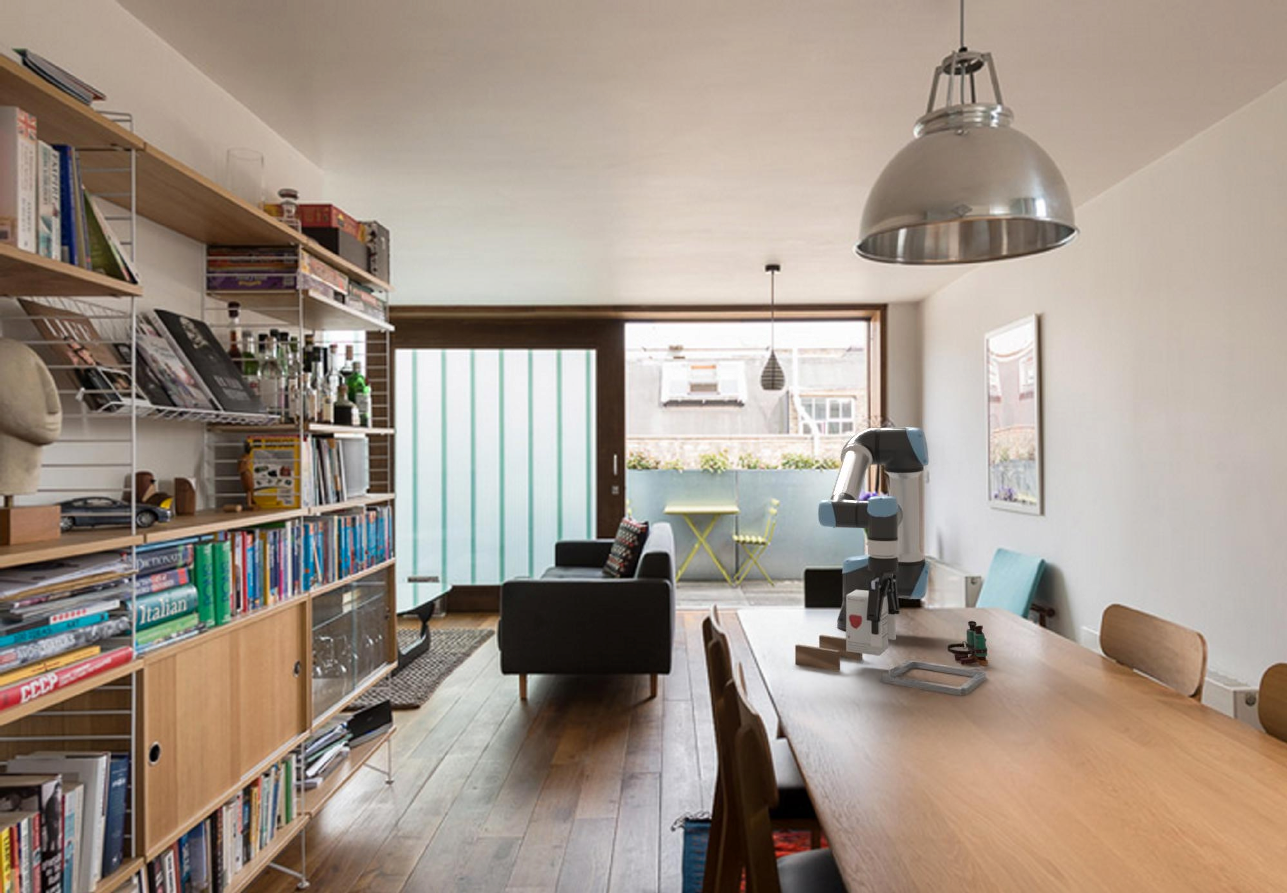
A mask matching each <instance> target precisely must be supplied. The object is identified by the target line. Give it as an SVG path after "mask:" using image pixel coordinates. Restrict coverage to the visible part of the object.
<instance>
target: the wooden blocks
mask: <svg viewBox="0 0 1287 893" xmlns="http://www.w3.org/2000/svg"><path fill="white" fill-rule="evenodd" d="M818 640H819V641H818V642H819V644H818V646H812V645H806V644H799V643H798V644H795V646H794V647H795V653H794V655H795V656H794V657H795V659H794V660H795V665H799V666H805V667H811V668H817V669H822V670H829V671H833V672H839V671H840V670H841V658H845V659H850V660H852V659H853V660H857V661H861V660H863V654H862V653H855V652H848V651H846V637H839V636H832V635H826V634H820V635H819V636H818Z"/></svg>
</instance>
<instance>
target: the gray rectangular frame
mask: <svg viewBox="0 0 1287 893" xmlns="http://www.w3.org/2000/svg"><path fill="white" fill-rule="evenodd" d="M913 668H914V669H922V670H928V671H934V672H938V673H939V672H940V673H947V674H952V675H957V676H958V675H959V676H966V677H971V678H970V679H968V680H966V681H965V683H963V684H962V685H960V686H953V685H947V684H941V683H935V682H930V681H923V680H919V679H918V680H917V679H911V678H906V677H899V676H900V675H902V674H903V673H905V672H907V671H909V670H910V669H913ZM986 680H987V672H986V671H985V670H979V669H973V668H972V669H971V668H966V667H959V666H953V665H945V664H940V663H934V662H928V661H921V660H914V659H911V660H905V661H903V662H902V663H900V664H898V665H896V666H895V667H893V668H891V669H889V670H887V671H886V672H884V673H882V674H881V681H882V683H883V684H884V683H885V684H891V685H894V686H902V687H906V686H907V687H908V688H913V689H917V690H924V691H931V692H936V693H943V694H946V695H947V694H949V695H952V694H953V695H954V696H958V695H960V696H959V697H961V696H963V695H965V696H967V695H969V693H971V692H972V691H973V690H974V689H976V688H977V687H979V685H981V684H982V683H984V682H985V681H986Z"/></svg>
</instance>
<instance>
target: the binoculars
mask: <svg viewBox="0 0 1287 893" xmlns="http://www.w3.org/2000/svg"><path fill="white" fill-rule="evenodd" d="M967 624H968V626H969V628H968V629H966V641H962V643H961V642H960V643H951V644H948V645H947V646H946V647H947V652H949V653H952V654H954V655H953V656H954V660H955V661H957V662H960V665H968V664H973V663H976V664H979V665H982V666H983V665H989V661H988V659H987V656H988V648H987V645H986V644H987V638H986V637H985V633H984V632H983V625H977V624H978V623H977V622H976V621H974V620H969V621H967ZM953 648H963V650H956V649H953ZM966 649H967V650H966Z"/></svg>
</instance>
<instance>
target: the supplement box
mask: <svg viewBox="0 0 1287 893" xmlns="http://www.w3.org/2000/svg"><path fill="white" fill-rule="evenodd" d="M868 595H869V591H865V590H855V591H853V592H851V593H849V594H847V595H846V630H845V632H846V633H845V636H846V637H845V638H846V651H848V652H855V653H862V655H869V656H877V657H878V656H881V655H882V654H883V653H885V651H886V650H889V639H888V599H887V595H886V596H885V597H884V601H883V607H882V613H881V619H880V621H882V647H874V646H871V621H868V620H867V607H868Z"/></svg>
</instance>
